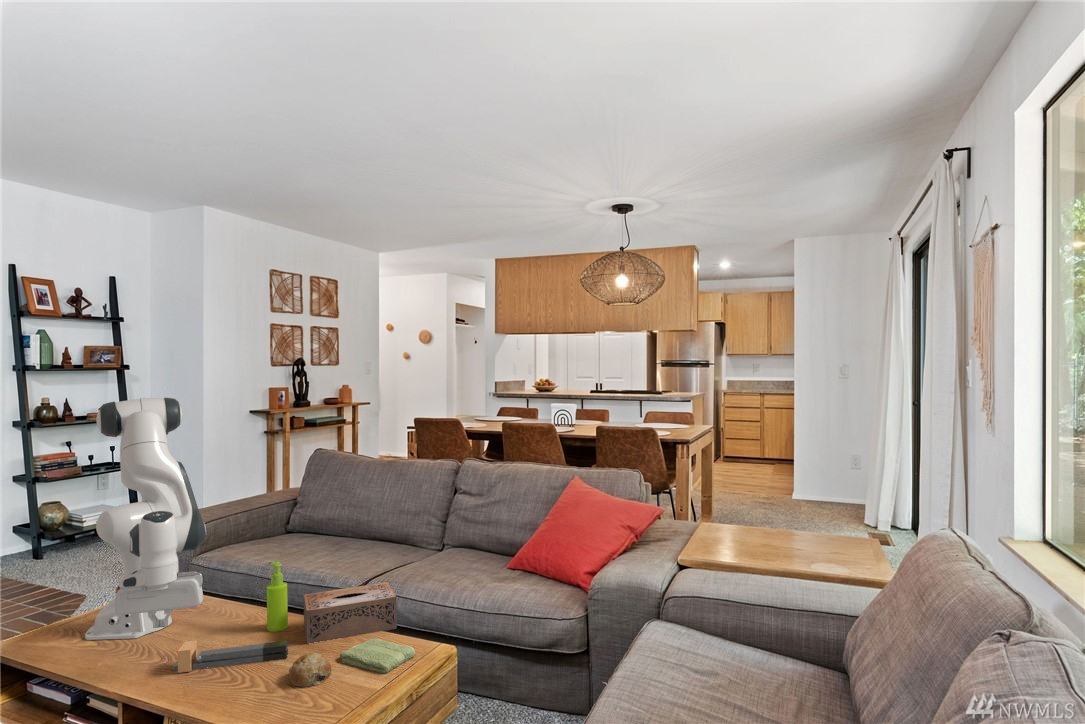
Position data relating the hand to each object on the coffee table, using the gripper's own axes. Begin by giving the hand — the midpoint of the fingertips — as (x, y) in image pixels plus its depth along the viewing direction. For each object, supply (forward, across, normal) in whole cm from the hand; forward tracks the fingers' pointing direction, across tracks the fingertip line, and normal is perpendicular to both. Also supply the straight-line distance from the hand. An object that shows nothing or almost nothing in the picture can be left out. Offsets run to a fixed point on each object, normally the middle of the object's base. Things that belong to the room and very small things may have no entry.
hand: (160, 626), depth 169 cm
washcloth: (+14, -55, +7) cm, 58 cm away
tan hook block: (+12, -6, -1) cm, 13 cm away
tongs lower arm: (+12, -17, -1) cm, 21 cm away
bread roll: (+13, -38, +14) cm, 43 cm away
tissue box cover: (+13, -47, -17) cm, 52 cm away
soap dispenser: (+12, -25, -23) cm, 36 cm away
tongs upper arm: (+10, -20, -1) cm, 22 cm away
